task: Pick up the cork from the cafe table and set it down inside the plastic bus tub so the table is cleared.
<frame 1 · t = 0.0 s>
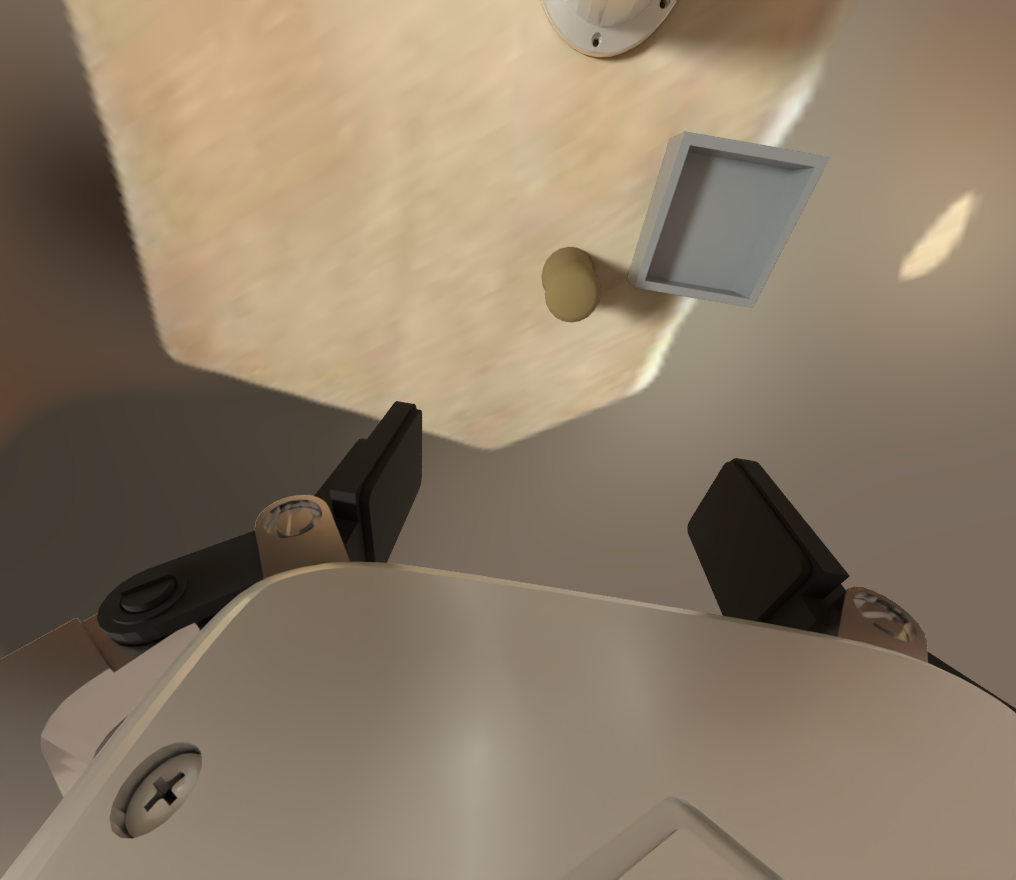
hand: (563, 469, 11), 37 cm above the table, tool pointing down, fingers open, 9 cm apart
bus tub: (705, 226, 38), on the table
cork: (567, 275, 42), on the table
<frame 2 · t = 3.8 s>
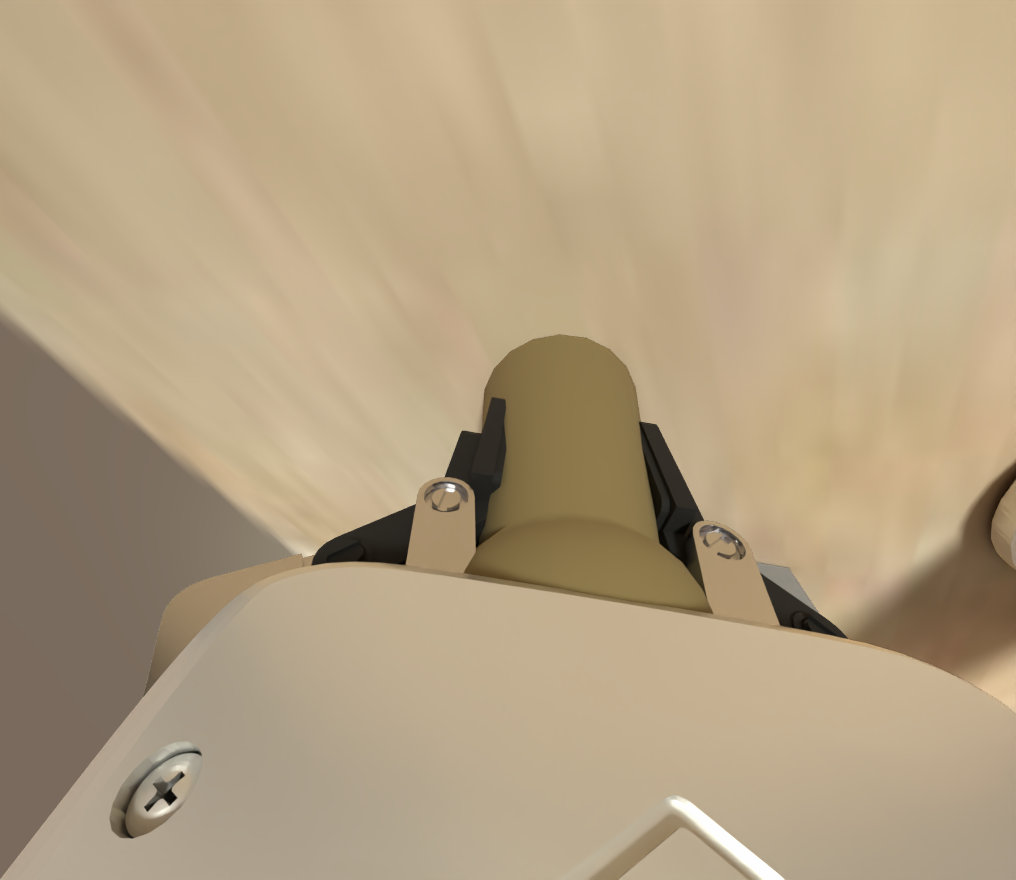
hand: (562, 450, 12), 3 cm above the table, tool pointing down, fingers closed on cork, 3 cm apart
bus tub: (626, 615, 22), on the table
cork: (557, 407, 15), on the table, touching gripper
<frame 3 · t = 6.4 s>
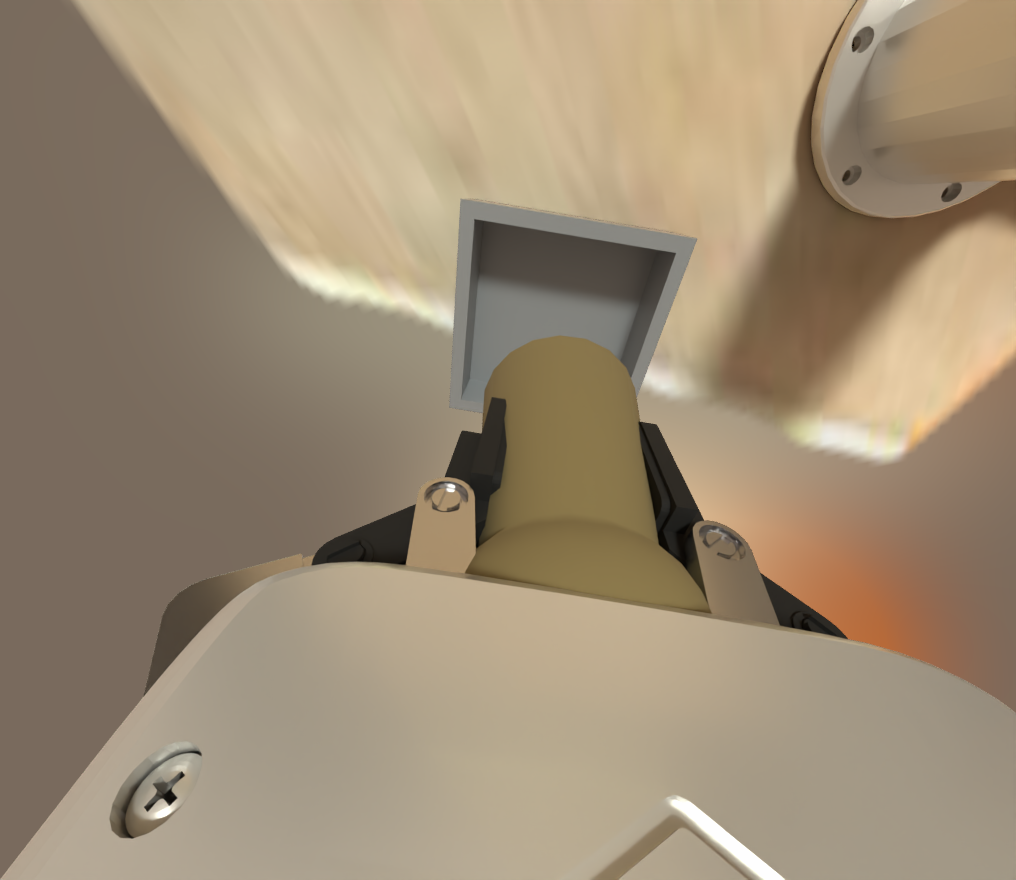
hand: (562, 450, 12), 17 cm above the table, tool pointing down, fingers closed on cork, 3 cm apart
bus tub: (552, 316, 26), on the table
cork: (557, 407, 15), point 14 cm above the table, touching gripper
when the fingers open (5 cm above the table, at t = 9.2 s): cork drops 1 cm, resting on bus tub.
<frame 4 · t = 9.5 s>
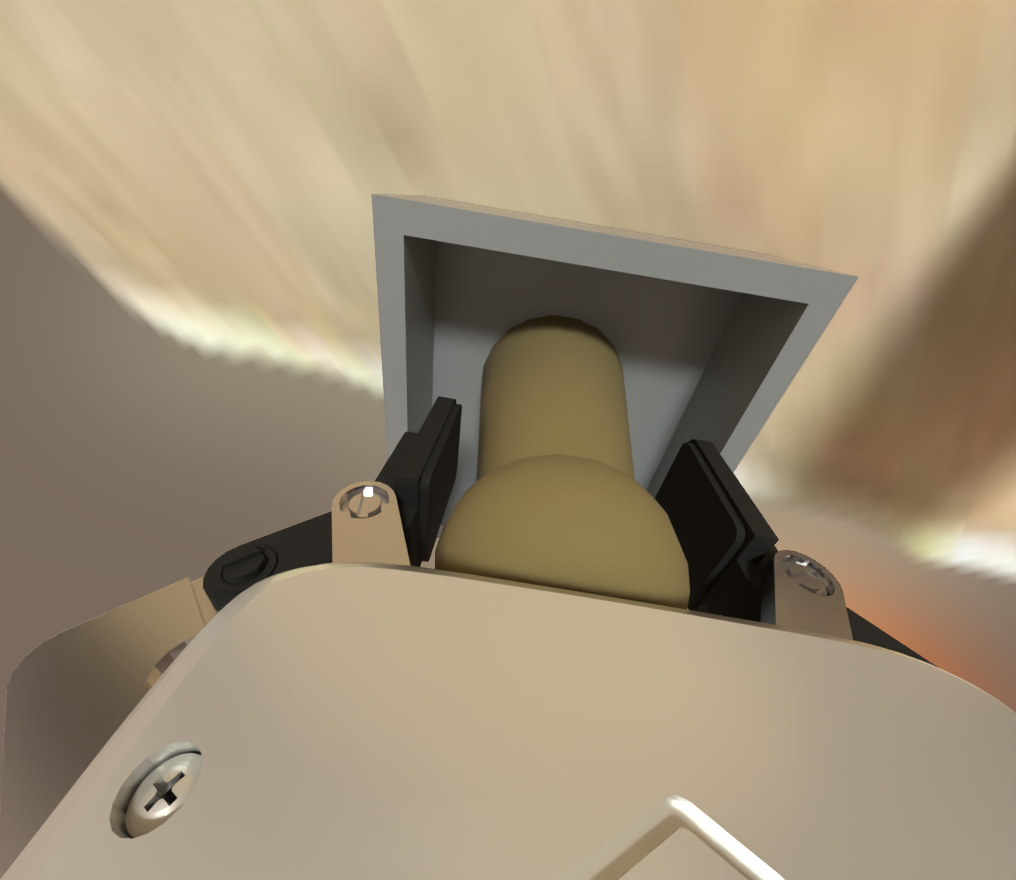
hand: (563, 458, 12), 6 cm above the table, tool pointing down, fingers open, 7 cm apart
bus tub: (557, 384, 16), on the table
cork: (550, 385, 16), point 1 cm above the table, touching bus tub
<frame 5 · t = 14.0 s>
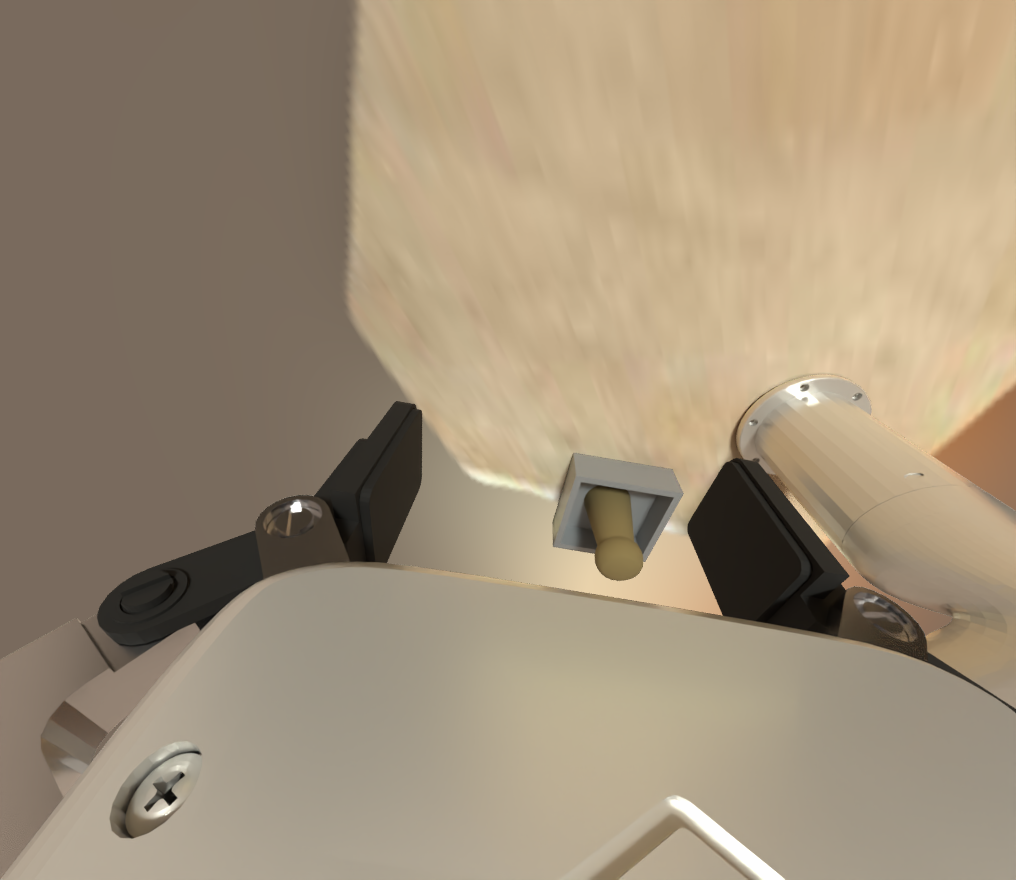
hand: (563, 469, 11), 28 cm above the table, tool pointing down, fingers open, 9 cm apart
bus tub: (608, 497, 49), on the table
cork: (606, 499, 48), point 1 cm above the table, touching bus tub
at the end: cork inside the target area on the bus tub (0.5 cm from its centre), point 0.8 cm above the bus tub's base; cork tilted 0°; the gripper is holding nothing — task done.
